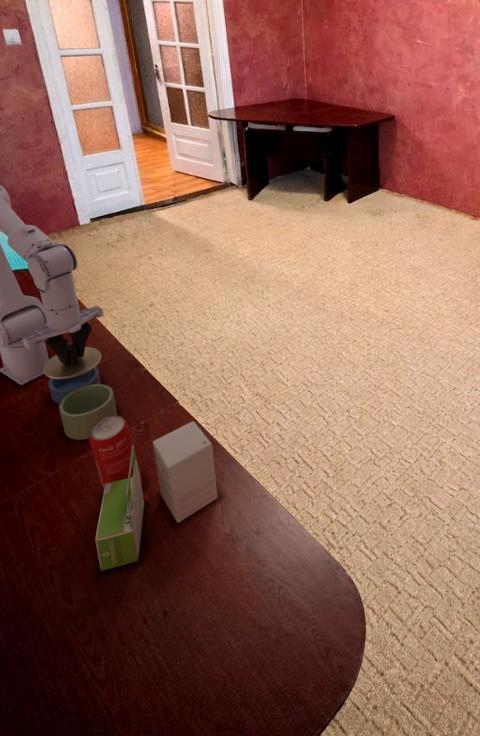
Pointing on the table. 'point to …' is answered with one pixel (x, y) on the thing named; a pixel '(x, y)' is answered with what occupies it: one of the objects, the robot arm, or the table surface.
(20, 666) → the table surface
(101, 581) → the table surface
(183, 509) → the white packaging box
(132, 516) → the ink box
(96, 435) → the beverage can
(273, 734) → the table surface
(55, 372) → the lid
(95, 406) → the pot
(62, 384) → the pan
